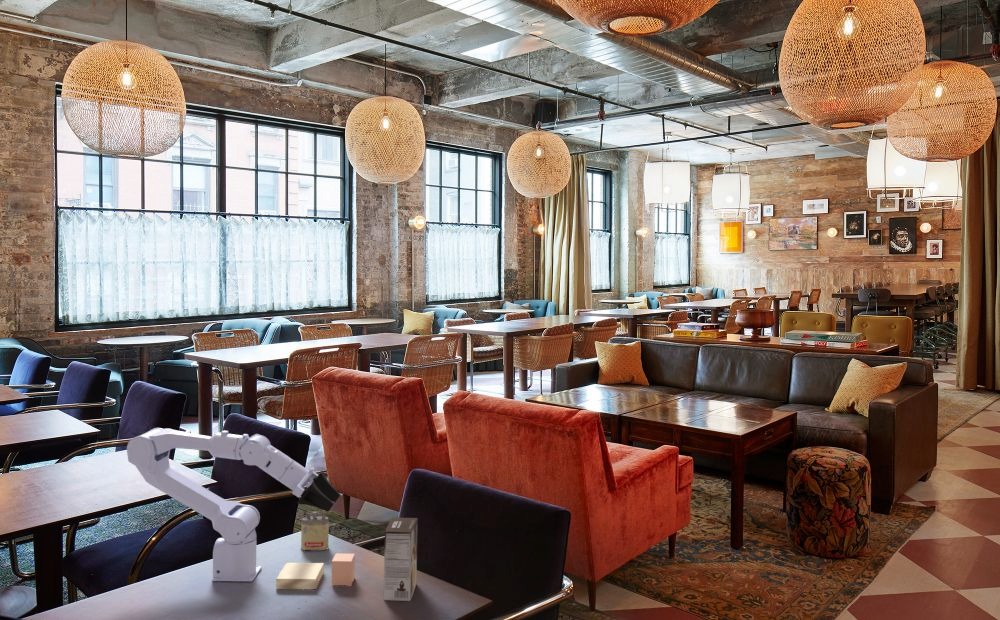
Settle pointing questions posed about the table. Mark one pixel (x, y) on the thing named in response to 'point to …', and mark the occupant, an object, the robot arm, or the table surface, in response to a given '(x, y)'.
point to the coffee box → (400, 559)
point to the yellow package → (314, 531)
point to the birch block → (300, 576)
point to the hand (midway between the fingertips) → (334, 503)
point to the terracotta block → (343, 569)
